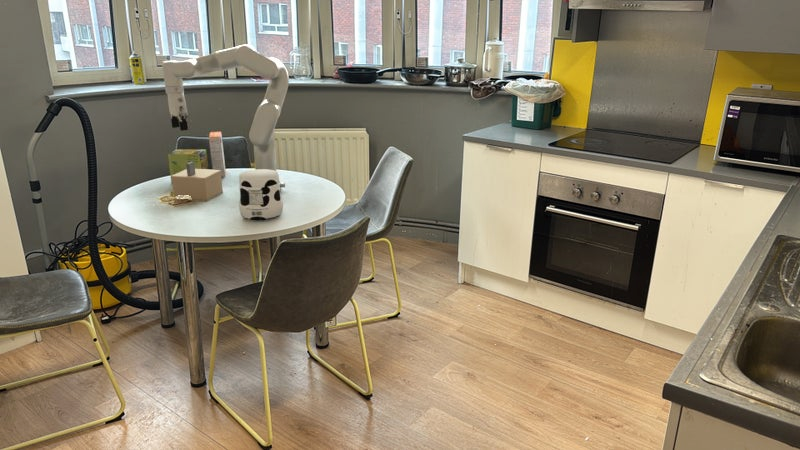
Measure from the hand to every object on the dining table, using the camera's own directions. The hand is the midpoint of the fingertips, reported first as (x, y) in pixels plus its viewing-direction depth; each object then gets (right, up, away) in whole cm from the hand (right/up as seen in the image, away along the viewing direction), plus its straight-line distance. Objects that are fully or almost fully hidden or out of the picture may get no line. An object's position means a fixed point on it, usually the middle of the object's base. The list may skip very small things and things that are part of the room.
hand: (180, 128), depth 272 cm
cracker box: (+6, -17, +39) cm, 43 cm away
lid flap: (+8, -20, -1) cm, 22 cm away
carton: (+8, -30, +3) cm, 31 cm away
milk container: (+43, -40, -26) cm, 64 cm away
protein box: (-4, -23, +25) cm, 34 cm away
